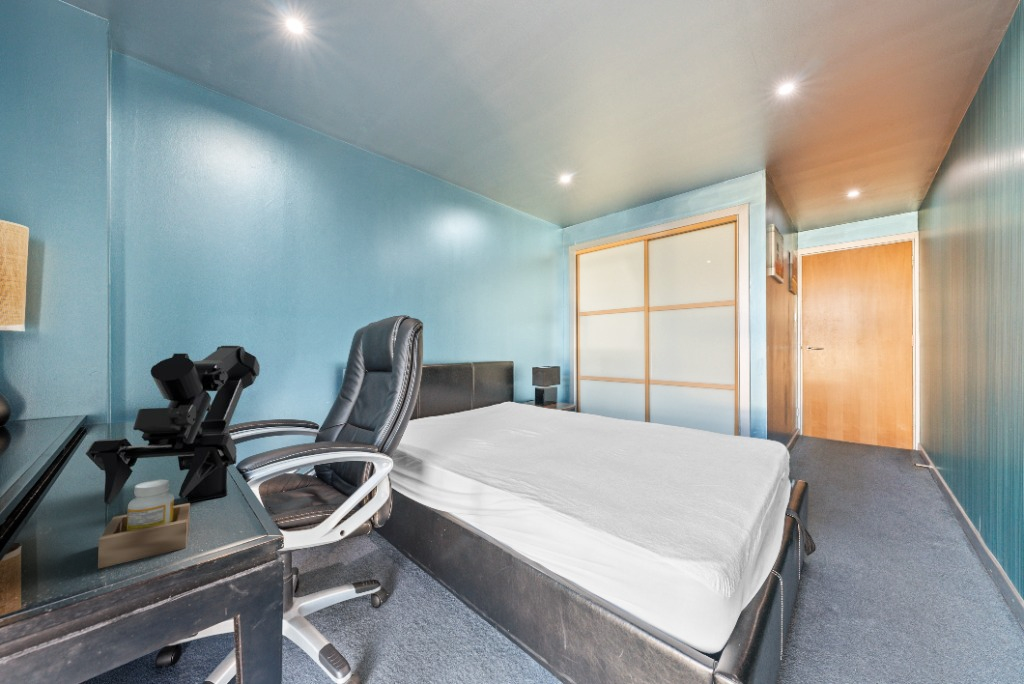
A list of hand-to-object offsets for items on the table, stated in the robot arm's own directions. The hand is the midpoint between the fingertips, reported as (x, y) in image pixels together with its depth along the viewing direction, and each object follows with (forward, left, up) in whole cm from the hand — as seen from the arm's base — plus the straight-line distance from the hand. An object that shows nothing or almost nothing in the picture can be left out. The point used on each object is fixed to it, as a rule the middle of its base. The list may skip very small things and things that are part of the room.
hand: (144, 499), depth 59 cm
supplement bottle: (-1, -1, -8) cm, 8 cm away
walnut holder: (0, -1, -8) cm, 8 cm away
